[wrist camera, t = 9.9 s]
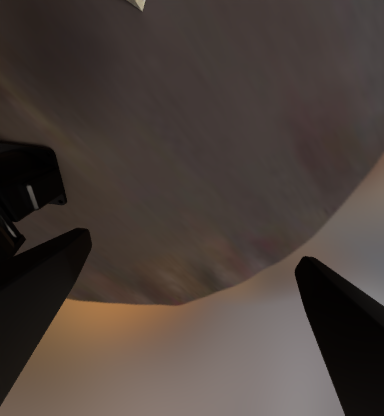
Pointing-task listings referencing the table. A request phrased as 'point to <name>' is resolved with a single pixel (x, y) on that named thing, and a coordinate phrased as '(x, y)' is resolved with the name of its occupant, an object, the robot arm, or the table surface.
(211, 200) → the table surface
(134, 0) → the socket
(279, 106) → the table surface
